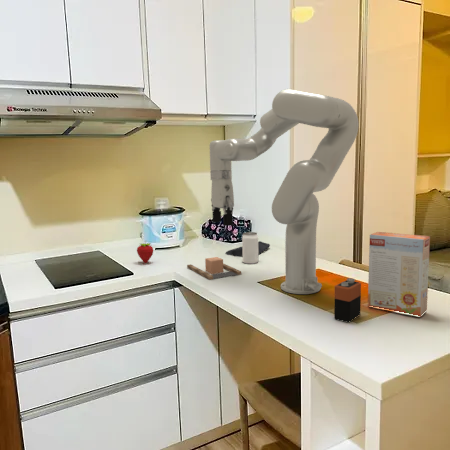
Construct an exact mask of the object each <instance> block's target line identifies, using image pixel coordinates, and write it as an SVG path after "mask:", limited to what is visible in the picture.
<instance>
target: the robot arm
mask: <svg viewBox="0 0 450 450" xmlns="http://www.w3.org/2000/svg"><path fill="white" fill-rule="evenodd" d="M259 123H260V127H261V128H260V129H259V130H258V131H257V132H256V133H254V134H253V135H251V136H250V137H248V138H240V137H239V138H227V139H225V140H224V139H220V140H219V139H216V140H212V141H210V142H209V168H210V169H209V172H210V173H209V174H210V176H209V177H210V181H211V189H210V190H211V193H210V194H211V198H210V201H211V207H212V208H211V211H212V222H213V223H220V222H222V218H223V226H224V227H227V226H229V227H230V226H233V224H234V223H233V213H234V207H235V199H234V198H235V197H234V196H235V195H234V186H233V181H232V178H233V175H232V174H233V173H232V171H233V170H232V162H240V161H242V162H243V161H244V162H247V161H252V160H254V159H256V158H258V157H260V156H261V155H262V154H264V153H266V152H267V151H269V150H270V148H272V147H273V146H274V144H275V142H276V141H277V139H278V138H280V137H281V136H282V135H284V134H286V133H287V132H288V131H290V130H291V129H293V128H294V127H296V126H298V125H299V124H302V125H307V126H310V127H311V126H312V127H315V128H324V129H328V131H327V133H326V134H325V136H324V137H323V138H322V139H321V140H320V141H319V143H318V145H317V146H316V149H315V151H314V152H313V154H312V155H311V157H310V158H309V159H303V160H301V161H298V162H296V163H295V164H293V166H292V167H290V169H289V170H288V171H287V173H286V175H285V177H284V179H283V181H282V183H280V186H279V189H278V190H277V192H276V193H275V196H274V198H273V201H272V204H271V213H272V217H273V218H274V219H275V221H276V222H278V223H279V224H281V225H286V228H285V240H284V241H285V242H284V243H285V244H284V245H285V249H284V250H285V251H284V252H285V255H284V257H285V258H284V259H285V281H283V282H282V283H281V284H280V289H281V290H282V291H284V292H286V293H289V294H294V295H309V294H315V293H318V292H319V291H320V290H321V288H322V287H323V285H322V283H321V282H319V281H318V276H317V275H316V274H317V272H316V269H317V266H316V265H317V264H316V263H317V226H318V218H319V211H320V210H319V209H320V205H319V200H318V198H317V196H316V195H315V194H314V193H317V192H323V191H324V190H326V189H327V188H328V187H329V186H330V184H331V183H332V182H333V179H334V177H335V176H336V174H337V172H338V171H339V169H340V168H341V166H342V164H343V162H344V160H345V158H346V156H347V154H348V153H349V152H350V149H351V148H352V146H353V144H354V143H355V140H356V139H357V136H358V132H359V123H360V122H359V117H358V115H357V112H356V110H355V109H354V107H353V106H352V105H351V104H350V103H349V102H347V101H346V100H344V99H342V98H338V97H334V96H330V95H324V94H318V93H312V92H306V91H301V90H297V89H292V88H287V89H286V88H285V89H283V90H280V91H279V92H277V94H275V96H274V98H273V100H272V103H271V109H269V110H268V111H267V112H266V113H264V114H263V115H261V117H260V119H259ZM221 209H222V211H223V214H222V211H221ZM222 215H223V217H222Z"/></svg>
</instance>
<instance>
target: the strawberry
mask: <svg viewBox="0 0 450 450" xmlns="http://www.w3.org/2000/svg"><path fill="white" fill-rule="evenodd" d="M144 242H145V243H140V245H139V246H138V247H137V248H136V253H137V255H138V257H139V258H140V259H141V260H142V262H143V263H144V264H147V263H149V261H150V259H151V258H152V256H153V254H154V247H153V246H152V242H150V243H149V242H148V243H147V241H144Z"/></svg>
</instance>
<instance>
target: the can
mask: <svg viewBox="0 0 450 450" xmlns="http://www.w3.org/2000/svg"><path fill="white" fill-rule="evenodd" d="M241 238H242V241H241V242H242V244H241V247H242V253H243V257H242V263H244V264H247V265H253V264H254V265H255V264H257V263H258V262H259V255H258V242H259V236H258V232H254V231H248V232H243V233H242V236H241Z"/></svg>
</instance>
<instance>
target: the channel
mask: <svg viewBox="0 0 450 450" xmlns="http://www.w3.org/2000/svg"><path fill="white" fill-rule="evenodd" d="M186 268H187V269H189V270H190V271H191V272H194V273H196V274H198V275H199V276H200V277H201V276H202V277H203V278H205V279H207V280H209V281H212V280H217V279H223V278H230V277H235V276H240V275H242V270H239V269H237V268H235V267H232V266H230V265H228V264H226V263H224V262H223V270H226V271H225V272H224V271H223V272H222V273H216V274H210V273H208V272H206V271H204V270H202V269H200V268H199V267H196V266H194V265H193V264H187V265H186Z"/></svg>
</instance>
